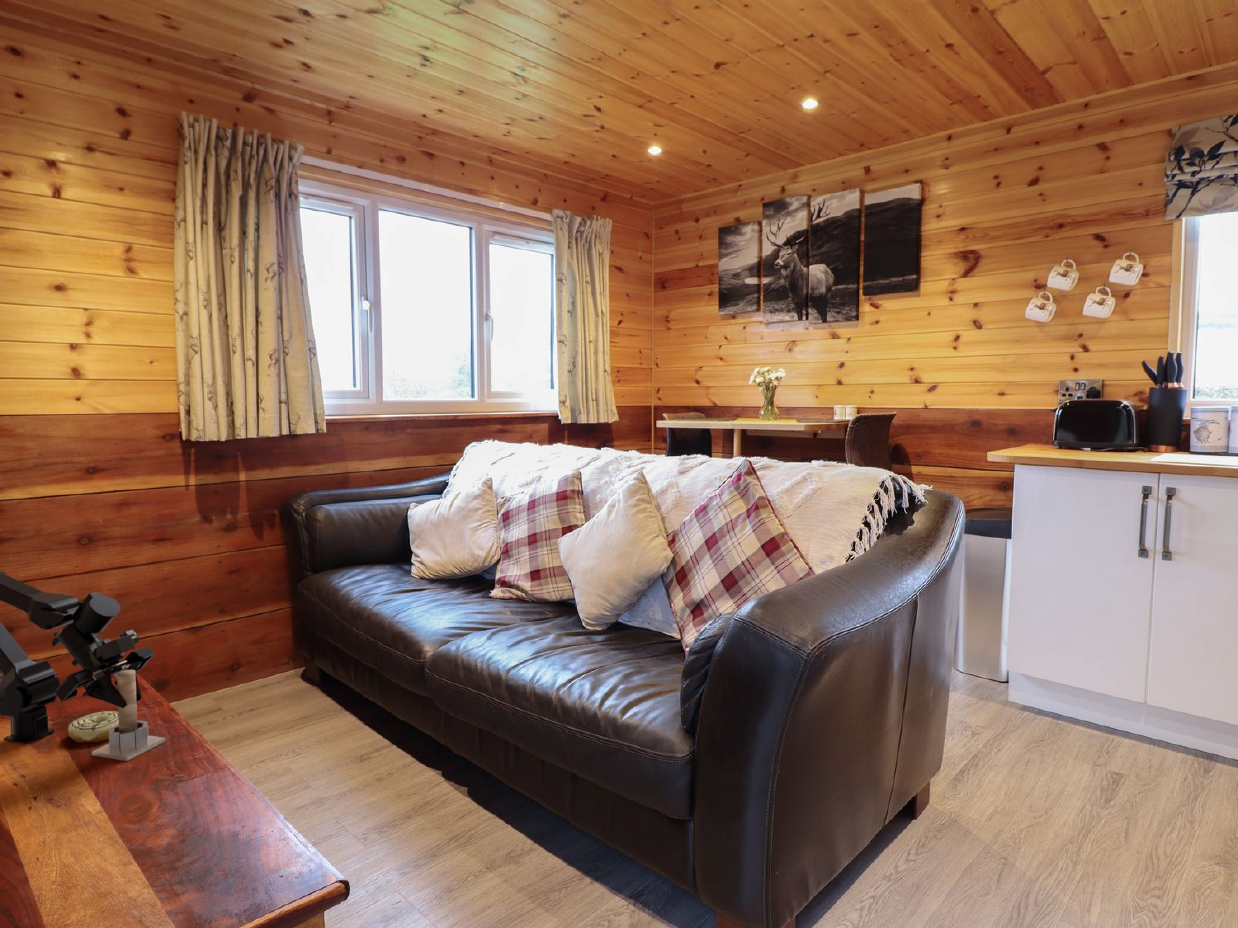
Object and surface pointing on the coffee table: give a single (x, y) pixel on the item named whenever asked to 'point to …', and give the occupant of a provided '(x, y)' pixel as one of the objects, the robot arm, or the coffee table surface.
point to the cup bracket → (128, 743)
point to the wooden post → (127, 701)
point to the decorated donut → (93, 726)
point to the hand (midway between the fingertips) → (132, 702)
